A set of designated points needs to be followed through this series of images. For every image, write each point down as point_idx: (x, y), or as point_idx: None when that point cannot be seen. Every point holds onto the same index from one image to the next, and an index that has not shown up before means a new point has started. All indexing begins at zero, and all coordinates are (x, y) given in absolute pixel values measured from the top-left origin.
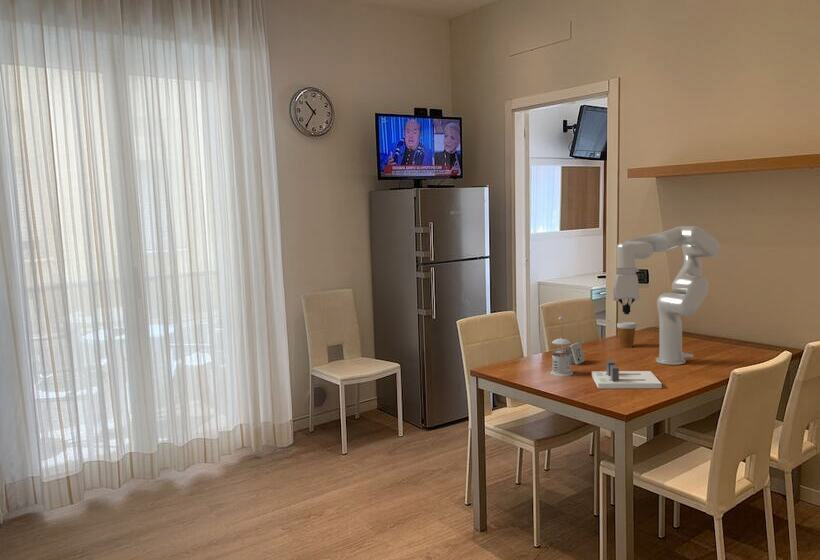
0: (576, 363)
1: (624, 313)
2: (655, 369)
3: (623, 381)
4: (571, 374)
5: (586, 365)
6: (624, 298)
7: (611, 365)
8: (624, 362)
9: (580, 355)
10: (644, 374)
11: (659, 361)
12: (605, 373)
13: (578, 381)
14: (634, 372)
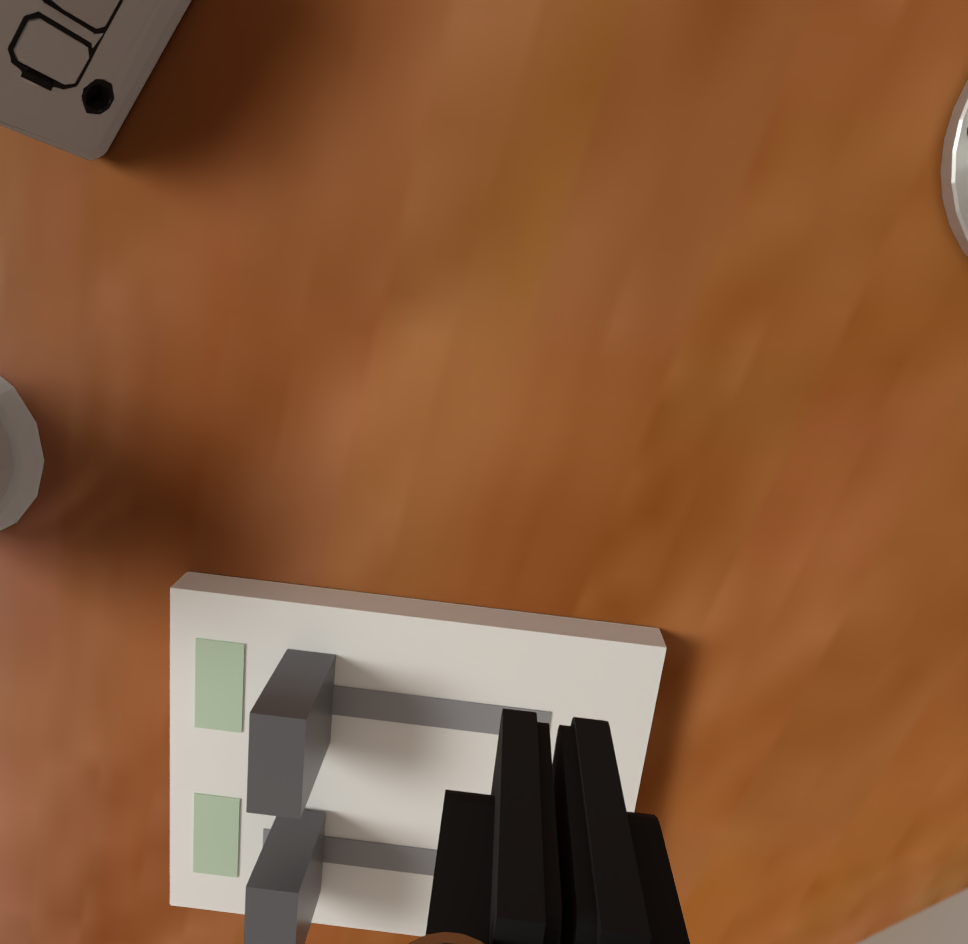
0: (85, 158)
1: (492, 786)
2: (793, 432)
3: (357, 885)
4: (24, 508)
5: (194, 183)
6: None
7: (253, 895)
8: (609, 100)
9: (106, 24)
10: None
11: (953, 209)
12: (273, 666)
13: (67, 702)
14: (518, 668)
